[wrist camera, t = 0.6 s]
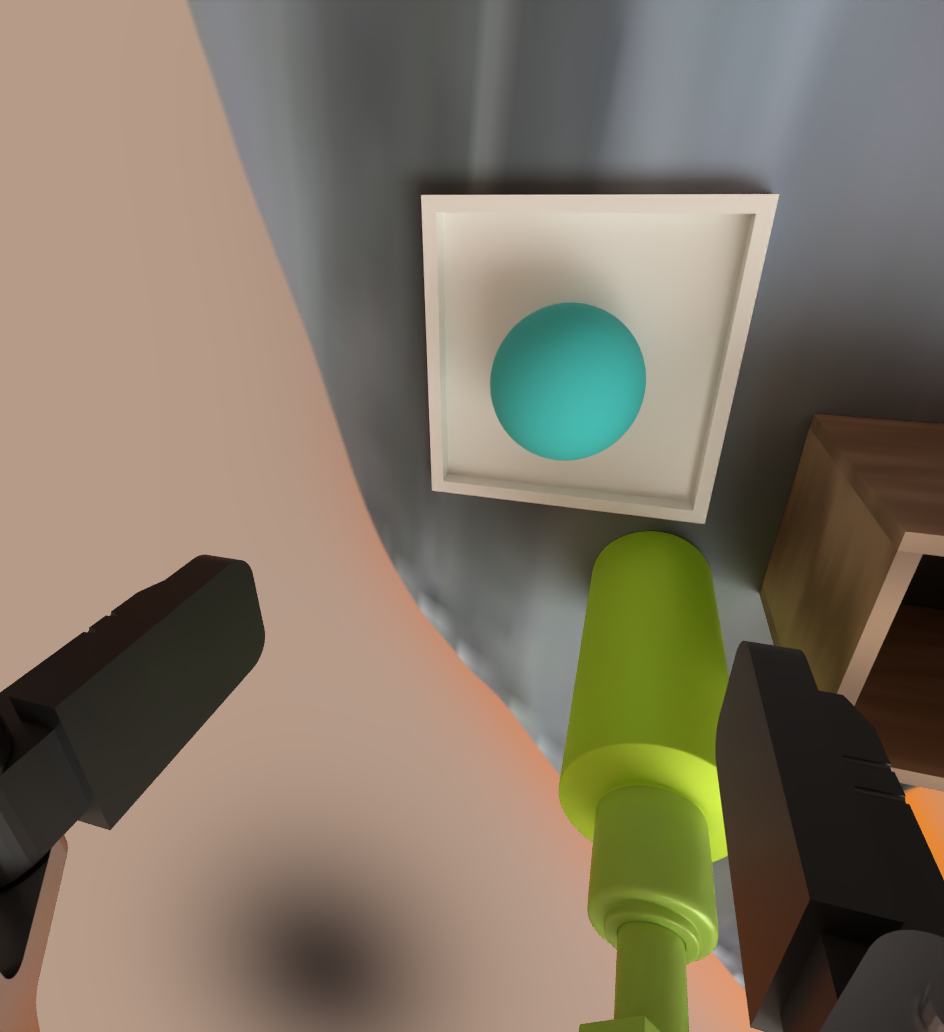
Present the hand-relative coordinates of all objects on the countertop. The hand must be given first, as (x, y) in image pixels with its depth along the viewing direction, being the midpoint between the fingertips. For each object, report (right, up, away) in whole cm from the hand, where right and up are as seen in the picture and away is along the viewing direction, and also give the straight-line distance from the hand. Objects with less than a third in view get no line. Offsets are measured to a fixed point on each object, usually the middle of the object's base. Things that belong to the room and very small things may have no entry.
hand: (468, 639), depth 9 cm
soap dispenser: (+10, -2, +20) cm, 22 cm away
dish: (+5, +9, +16) cm, 19 cm away
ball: (+4, +7, +13) cm, 15 cm away
